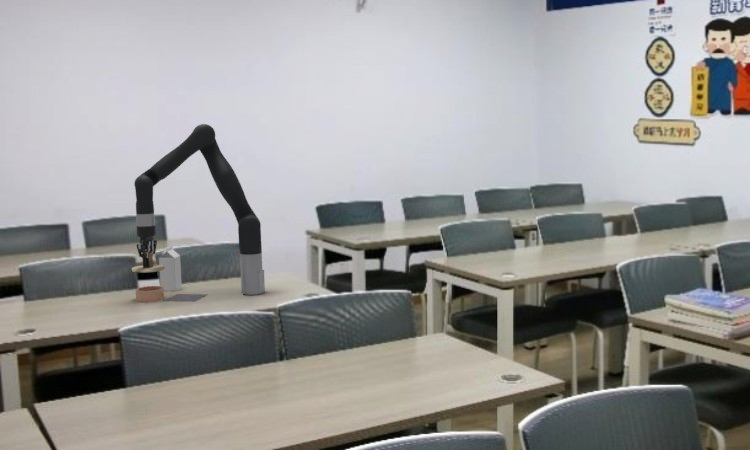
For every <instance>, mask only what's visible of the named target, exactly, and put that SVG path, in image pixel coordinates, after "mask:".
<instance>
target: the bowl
mask: <svg viewBox="0 0 750 450" xmlns="http://www.w3.org/2000/svg"><path fill="white" fill-rule="evenodd" d="M164 295H165V291H164V289H163V287H161V286H160V285H149V286H141V287H138V288H136V289H135V300H136V302H139V303H152V302H159V301H163V300H165V296H164Z"/></svg>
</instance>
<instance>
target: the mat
mask: <svg viewBox="0 0 750 450" xmlns="http://www.w3.org/2000/svg"><path fill="white" fill-rule="evenodd" d="M208 295H209V294H207V293H206V294H203V293H201V294H200V293H197V294H196V293H177V294H174V295H171V296H170V297H167V298H166V299H163V302H181V303H182V302H183V303H184V302H191V303H194V302H195V303H196V302H197V301H199V300H201V299H203V298H205V297H207V296H208Z"/></svg>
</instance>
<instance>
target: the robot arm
mask: <svg viewBox="0 0 750 450" xmlns="http://www.w3.org/2000/svg"><path fill="white" fill-rule="evenodd" d="M199 151H200V153H201V154H202V156H203V159H204V160H205V163H206V164H207V167H208V169H209V173H210V174H211V177H212V179H213V182H214V183H215V186H216V187H217V189H218V191H219V193H220V194H221V196H222V198H223V199H224V201H225V202H226V204H228V206H229V207H230V208H231V210H232V212H233V214H234V217H235V220H236V221H237V226H238V227H237V228H238V229H237V233H238V249H239V265H240V266H239V267H240V289H241V291H240V292H241V294H243V295H246V296H251V295H252V296H253V295H262V294H263V293H265V292H266V288H265V287H266V286H265V285H266V284H265V282H266V281H265V269H263V254H262V253H263V251H262V249H263V248H262V230H261V228H262V227H261V225H262V224H261V221H260V219H259V218H258V216H257V215H256V213H255V212H254V210H253V209H252V207H251V205H250V203H249V202H248V200H247V197H246V195H245V192H244V190H243V187H242V185H241V182H240V180H239V178H238V176H237V174H236V172H235V170H234V168H233V167H232V165H230V162H229V161H228V159H226V157H225V155H224V154H223V153H222V152H221V150H220V147H219V144H218V142H217V139H216V132H215V129H214V128H213V127H212V126H211V125H210V124H207V123H206V124H205V123H201V124H198V125H196V126H195V127H194V129H193V130H192V132H191V134H190V135H189V136H188V137H187V138H186V139H185V140H184V141H183V142H181V143H180V144H179V145H178V146H176V147H175V148H173V149H172V150H171V151H169V152H168V153H167V154H165V155H164V156H163V157H161V158H160V159H159V160H158V161H157V162H155V163H154V164H153V165H152V166H151V167H150V168H149V169H146V170H145V171H144V172H143V173H141V174H140V175H138V177H137V178H136V179H135V180H134V184H133V185H134V188H135V198H136V199H135V200H136V202H135V220H136V221H135V222H136V223H135V225H136V228H135V229H136V236H137V237H138V238H139V244H136V249H137V252H138V256H139V257H140V258H141V259H142V265H143V267H149V259H148V253H149V252H152V254H153V256H154V255H155V254H156V252H157V243H158V240H156V239H154V237H155V236H156V235H157V232H156V231H157V230H156V216H155V208H154V207H155V206H154V186H156V185H157V184H158V183H160V182H161V181H163V180H164V179H166V178H167V177H168V176H170V175H171V174H172V173H174V172H175V171H176V170H177V169H179V167H180V166H181V165H183V163H184V162H186V161H187V160H188V159H189V158H190V157H192V156H193V155H194V154H196V153H197V152H199Z"/></svg>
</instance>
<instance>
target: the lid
mask: <svg viewBox="0 0 750 450" xmlns="http://www.w3.org/2000/svg"><path fill="white" fill-rule="evenodd" d="M148 259H149V267H143V264H142V265H135V266H133V267H131V271H132V272H134V273H143V274H144V273H155V272H160V271H161V270H164V269H165V268H164V265H159V264H154V255H153V254H152V252H149V253H148Z"/></svg>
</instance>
